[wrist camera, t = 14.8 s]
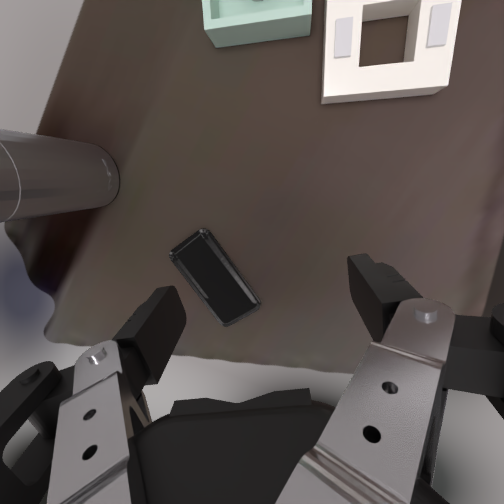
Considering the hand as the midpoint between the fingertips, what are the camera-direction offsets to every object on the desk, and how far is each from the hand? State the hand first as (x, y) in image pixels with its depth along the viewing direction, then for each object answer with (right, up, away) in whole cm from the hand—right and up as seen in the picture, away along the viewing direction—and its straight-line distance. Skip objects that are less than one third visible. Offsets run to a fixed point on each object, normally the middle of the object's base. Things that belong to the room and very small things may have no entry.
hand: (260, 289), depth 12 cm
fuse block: (+14, +24, +16) cm, 32 cm away
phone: (-6, -2, +28) cm, 29 cm away
